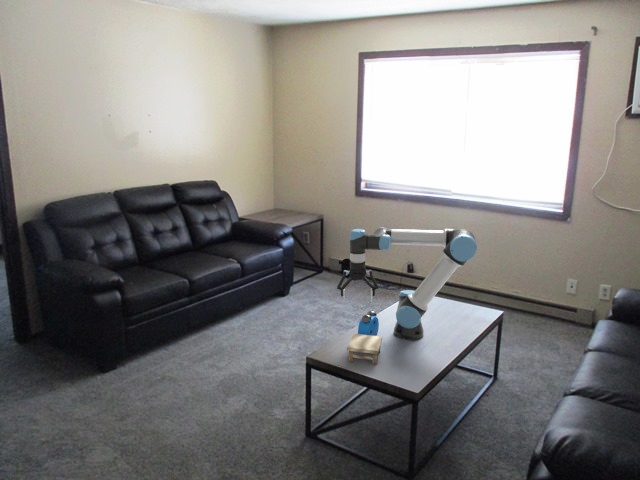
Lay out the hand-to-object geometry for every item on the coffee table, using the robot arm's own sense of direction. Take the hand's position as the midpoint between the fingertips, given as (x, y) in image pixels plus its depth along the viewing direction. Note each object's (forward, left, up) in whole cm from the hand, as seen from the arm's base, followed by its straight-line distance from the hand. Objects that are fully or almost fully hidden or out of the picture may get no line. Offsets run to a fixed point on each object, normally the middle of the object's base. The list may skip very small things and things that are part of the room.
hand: (357, 302), depth 266 cm
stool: (-7, +18, -20) cm, 28 cm away
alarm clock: (-6, 0, -20) cm, 21 cm away
